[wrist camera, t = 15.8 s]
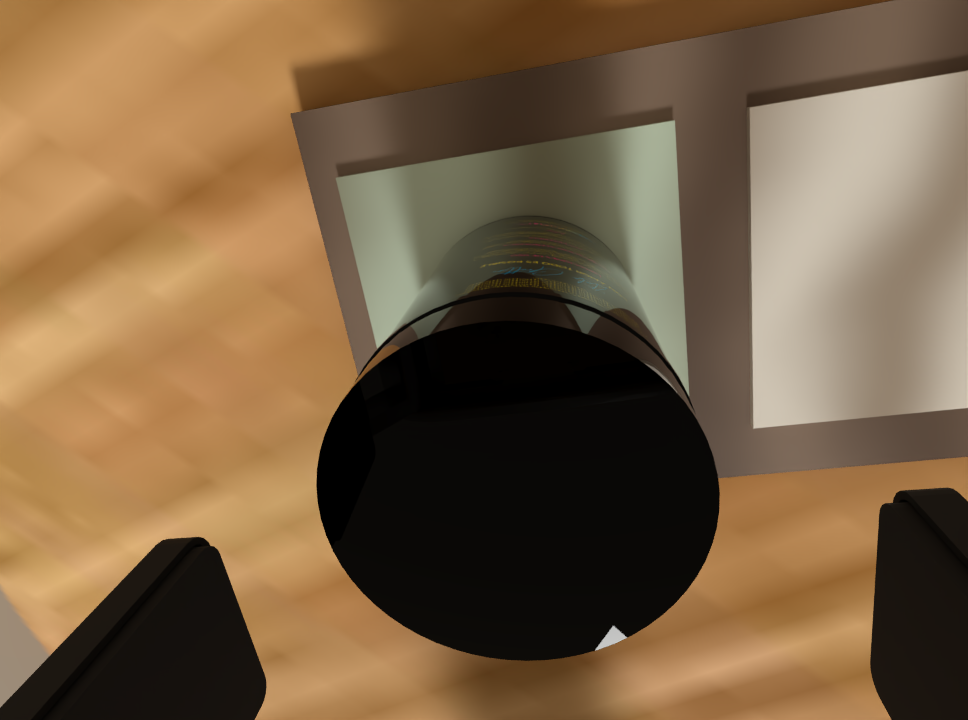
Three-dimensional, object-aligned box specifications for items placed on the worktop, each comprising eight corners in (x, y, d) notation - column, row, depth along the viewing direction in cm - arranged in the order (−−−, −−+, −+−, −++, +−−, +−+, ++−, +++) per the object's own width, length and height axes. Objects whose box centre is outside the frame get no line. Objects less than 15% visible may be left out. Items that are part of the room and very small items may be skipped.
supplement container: (405, 227, 19) (264, 349, 10) (627, 191, 18) (714, 289, 9) (446, 420, 22) (366, 670, 12) (644, 398, 21) (727, 652, 11)
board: (1183, -53, 16) (1234, -65, 15) (1084, 429, 21) (1117, 449, 20) (302, 112, 20) (286, 113, 18) (397, 491, 25) (390, 510, 23)
